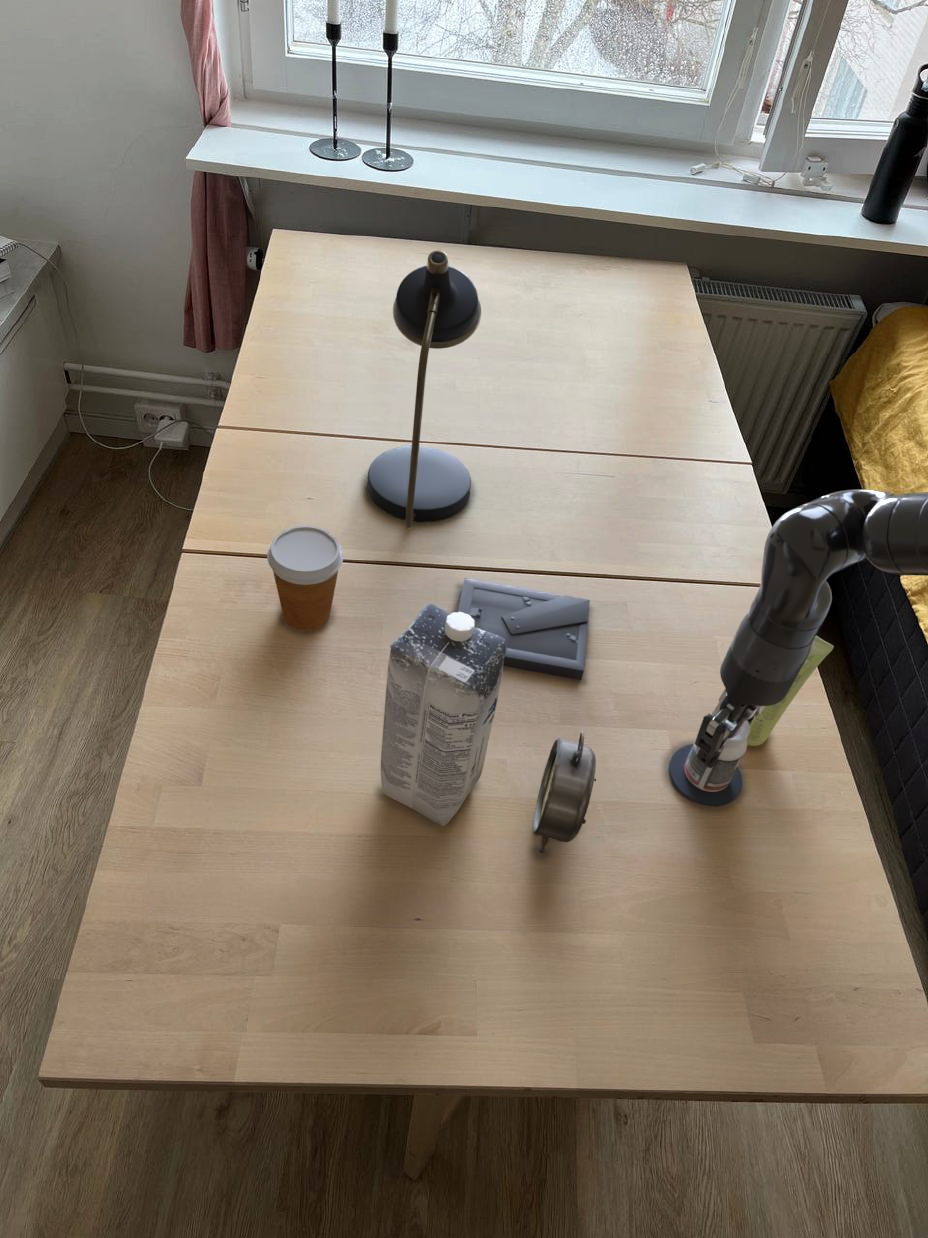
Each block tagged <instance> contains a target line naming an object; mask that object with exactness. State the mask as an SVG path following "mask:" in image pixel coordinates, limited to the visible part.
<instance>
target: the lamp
mask: <svg viewBox="0 0 928 1238" xmlns="http://www.w3.org/2000/svg"><path fill="white" fill-rule="evenodd" d="M392 317H393V321H394V323H395V326H396V327H397V329H398V331H399V332H400V333H401V334H402V335H403V337H404V338H405V339H407V340H409V341H410V342H412V343H413V344H416V345H417V346H420V352H419V360H418V368H417V377H416V391H415V400H414V401H415V402H414V411H413V412H414V413H413V426H412V437H411V445H405V446H404V445H403V446H397V447H395V448H390V449H389V450H386V451H384V452H382V453H381V454H379V455H378V456H376V457H375V458H374V460H372V462H371V463H370V465H369V468H368V472H367V481H366V491H367V495H368V497H369V498H370V500H371V501H372V503H373V504H374V505H375V506H376V507H377V508H378V509H379V510H380V511H382V512H383V513H386V514H387V515H390V517H391V516H392V517H394V518H397V519H398V520H399V519H400V520H403V521H404V522H405V523H404V525H405V528H406V529H412V528H413V526H414V523H434V522H440V521H444V520H447V519H449V518H452V517H454V516H455V515H458V513H460V512H461V511H462V510H463V509H464V508H465V507H466V506H467V504H468V503H469V501H470V497H471V487H472V485H471V484H472V479H471V478H472V477H471V474H470V471H469V469H468V468H467V466H466V465H465V464H464V463H463V462H462V461H461V460H460V459H459V458H457V457H456V456H454V455H452V454H451V453H448V452H447V451H445V450H442V449H439V448H436V447H431V446H426V445H420V443H421V430H422V420H423V409H424V398H425V387H426V378H427V377H426V376H427V368H428V367H427V366H428V359H429V353H430V349H436V350H438V349H439V350H440V349H441V350H443V349H448V348H453V347H455V346H457V345H460V344H462V343H464V342H465V341H467V340H468V339H469V338H471V336H472V335H474V333H475V331H476V330H477V329H478V327H479V326H480V323H481V319H482V307H481V302H480V299H479V295H478V291H477V288H476V286H475V284H474V282H473V281H472V279H471V278H470V277H469V276H468V275H467V274H466V273H464V272H463V271H462V270H459V269H458V268H456V267H453V266H451V265H449V259H448V256H447V253H445V252H444V251H443V250H442V251H441V250H433V251H432V252H430V253H428V256H427V261H426V265H423V266H420V267H417V268H415V269H414V270H411V272H409V273H408V274H407V275H406V276H405V277H404V278H403V279H402V281H401V282H400V284H399V285H398V288H397V291H396V294H395V297H394V300H393V306H392Z"/></svg>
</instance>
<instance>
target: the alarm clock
mask: <svg viewBox="0 0 928 1238" xmlns="http://www.w3.org/2000/svg"><path fill="white" fill-rule="evenodd" d="M596 760H597V759H596V754H595V752H594V749H593V748H592V747H591V746H589V745H586V744H585V731H584V730H581V731H580V734H579V738H578V742H576V741H572V740H567V739H564V738H561V737H557V738H556V739H555V740H554V742H553V744H552V746H551V749H550V752H549V754H548V758H547V762H546V764H545V768H544V771H543V774H542V779H541V782H540V787H539V790H538V795H537V799H536V804H535V808H534V815H533V821H532V833H533V834H534V836H538V837H542V839H541V845H540V848H539V849H538V850H539V851H538V852H539V853H540V854H545V852H546V847H547V845H548V842H549V839H551V840H554V841H558V842H562V843H569V842H571V841H573V840H574V839H575V838H576V837H577V835H578V834H579V833H580V830H581V828H582V826H583V825H585V824H586V822H587V821H586V814H587V812H588V808H589V804H590V800H591V798H592V793H593V787H594V782H596V781H597V779H596V778H595V776H596V768H597V767H596V766H597V761H596Z"/></svg>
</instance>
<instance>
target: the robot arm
mask: <svg viewBox="0 0 928 1238" xmlns="http://www.w3.org/2000/svg"><path fill="white" fill-rule="evenodd" d="M762 556H763V557H762V565H761V573H760V574H761V575H760V585H759V587H758V589H757V591H756V592H755V593H756V594H755V596H754V598H753V600H752V602H751V604H750V607H749V609H748V611H747V612H746V614H745V615H744V617H743V618H742V620H741V621H740V624H739V625H738V627H737V629H736V631H735V634H734V636H733V638H732V641H731V642H730V645H729V647H728V649H727V652H726V654H725V656H724V658H723V660H722V662H721V665H720V668H719V669H720V670H719V675H720V680H721V682H722V684H723V686H724V690H723V691H722V693H721V695H720V696H719V698H718V703H717V705H716V707H715V709H714V710H713V711H712V713H707V714H705V715H704V716H703V717H702V721H701V723H700V726H699V729H698V732H697V735H696V737H695V740H694V742H695V743H694V742H693V744H695V745H696V746H698V747H699V748H700V750H699V752H698V754H697V759H698V760H699V761H700V762H702V763H703V764H704V765H706V766H707V767H708V768H712V767H713V766H714V765H715V764H716V762H717V760H718V758H719V756H720V754H721V752H722V751H723V750H724V748H725V745H726V744H727V742H728V741H729V739H730V738H734V737H735V736H737V735H738V734H739V732H740V731H741V729H742V728H743V726H744V725H745V723H746V722H747V721H748V723H749V725H751V723H752V721H753V719H755V718H756V717H758V716H759V714H760V713H761V711H762V710H763V709H764V708H765V707H766V706H771V705H774V704H777V703H779V702H780V701H782V700H783V699H784V698H785V697H786V695H787V694H788V692H789V690H790V688H791V686H792V684H793V682H794V681H795V679H796V677H797V675H798V673H799V671H800V670H801V668H802V666H803V664H804V662H805V660H806V659H807V657H808V654H809V652H810V649H811V646H812V643H813V640H814V638H815V637H816V636H818V635H817V634H818V633H819V631H820V630H821V627H822V625H823V624H824V621H825V620H826V618H827V616H828V614H829V611H830V608H831V607H832V606H831V605H832V601H833V595H832V589H831V587H830V585H829V583H828V582H827V580H828V578H829V577H831V576H832V575H834V574H836V573H838V572H840V571H843V570H844V569H846V568H849V567H851V566H854V565H855V564H858V563H862V562H870V563H871V564H872V566H874V567H875V568H876V569H878V570H880V571H882V572H884V573H887V574H892V575H899V576H921V577H922V576H926V577H927V576H928V491H921V492H908V493H900V494H896V493H893V492H888V491H880V490H874V489H866V488H865V489H864V488H863V489H861V488H857V489H845V490H839V491H834V492H831V493H827V494H825V495H823V496H820V497H818V498H816V499H814V500H813V499H812V500H811V501H809V502H806V503H804V504H802V505H799V506H796V507H794V508H792V509H790V510H788V511H787V512H785V513H784V514H782V515H781V516H780V517H779V518H778V519H777V520H776V521H775V522H774V524H773V525H772V527H771V529H770V530H769V532H768V534H767V536H766V539H765V543H764V547H763V554H762ZM726 720H728V721H729V722H731V723H732V724H737V725H736V726H735V728H733V727H732V726H730V725H729V724H727V723H726Z"/></svg>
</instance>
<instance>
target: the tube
mask: <svg viewBox="0 0 928 1238" xmlns="http://www.w3.org/2000/svg"><path fill="white" fill-rule="evenodd" d="M834 647H835V646H834V645H833V644H831V643H829V642H827V641H825V640H824V639H822V638H820V636H818V635H816V637H815V638H814V640H813V643H812V646H811V649H810V652H809V654H808V657H807V659H806V660H805V662H804V664H803V666H802V668H801V670H800V671H799V673H798V675H797V677H796V679H795V681H794V682H793V684H792V686H791V688H790V690H789V692H788V694H787V695H786V697H785V698H784V699H783V700H782V701H780V702H779V703H777V704H774V705H771V706H766V707H765V708H764V709H763V710H762V711H761V713H760V714H759V716H758V717H756V718H755V719H753V721H752V723H751V725H750V733H749V735H748V737H747V746H751V747H757V746H761V745H763V744H764V743H765V742H766V740H767V739H768V738H769V737H770V734H771V733H772V731H773V730H774V728H775V727H776V725H777V724H778V722H779V721H780V719H781V718H782V716H783V715H784V713H785V712H786V711H787V708H788V707H789V706H790V705H791V703H792V701H793V700H794V698H795V697H796V695H797V694H798V693H799V691H800V690H801V689H802V687H803V686H804V684H805V683H806V682H807V681H808V679H809V678H810V677H811V675H812V674H813V673H814V672H815V670H816V669H817V668H818V666H819V665H820V664H821V663H822V661H824V659H825V658H826V657H827V656H828V655H829V654H831V652H832V651H833V649H834Z"/></svg>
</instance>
